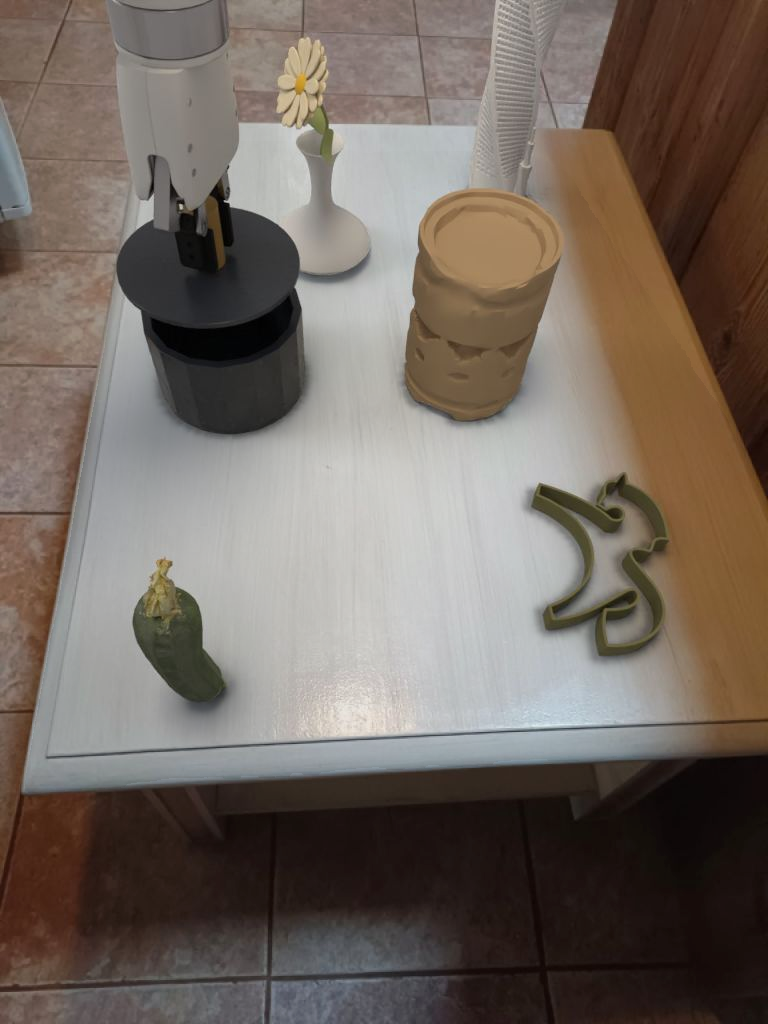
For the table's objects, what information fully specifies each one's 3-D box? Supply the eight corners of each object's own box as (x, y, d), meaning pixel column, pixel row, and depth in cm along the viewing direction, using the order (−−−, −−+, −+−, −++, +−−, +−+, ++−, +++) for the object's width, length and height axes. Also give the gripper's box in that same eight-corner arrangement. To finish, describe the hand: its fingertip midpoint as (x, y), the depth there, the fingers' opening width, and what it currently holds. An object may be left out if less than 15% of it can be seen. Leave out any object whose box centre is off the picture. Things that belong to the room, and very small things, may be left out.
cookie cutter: (528, 478, 71) (533, 466, 69) (649, 485, 71) (656, 473, 70) (543, 652, 61) (549, 643, 60) (682, 659, 62) (692, 651, 60)
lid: (317, 320, 61) (316, 254, 56) (127, 346, 58) (106, 280, 53) (281, 207, 69) (277, 140, 63) (112, 226, 66) (92, 157, 60)
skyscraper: (452, 218, 92) (492, -42, 68) (463, 181, 96) (504, -75, 72) (518, 231, 91) (581, -27, 67) (525, 193, 95) (588, -62, 72)
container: (511, 432, 74) (557, 294, 59) (391, 407, 75) (405, 265, 59) (526, 346, 80) (570, 202, 65) (415, 324, 81) (433, 177, 66)
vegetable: (192, 728, 56) (130, 627, 39) (162, 686, 58) (89, 572, 41) (239, 692, 58) (198, 580, 41) (208, 652, 60) (157, 530, 43)
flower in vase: (276, 221, 90) (257, -9, 68) (368, 223, 90) (378, -4, 69) (272, 293, 83) (249, 63, 62) (371, 295, 83) (383, 68, 62)
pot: (317, 419, 73) (315, 352, 65) (171, 445, 71) (150, 379, 63) (289, 320, 81) (283, 248, 73) (155, 340, 78) (134, 268, 70)
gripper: (166, -45, 51) (203, 191, 67) (52, 64, 43) (125, 307, 58) (267, -25, 51) (280, 209, 66) (172, 90, 42) (214, 328, 57)
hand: (208, 253), depth 62 cm, fingers closed on lid, 2 cm apart
